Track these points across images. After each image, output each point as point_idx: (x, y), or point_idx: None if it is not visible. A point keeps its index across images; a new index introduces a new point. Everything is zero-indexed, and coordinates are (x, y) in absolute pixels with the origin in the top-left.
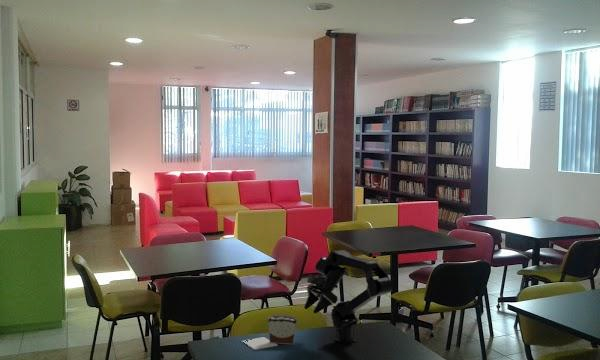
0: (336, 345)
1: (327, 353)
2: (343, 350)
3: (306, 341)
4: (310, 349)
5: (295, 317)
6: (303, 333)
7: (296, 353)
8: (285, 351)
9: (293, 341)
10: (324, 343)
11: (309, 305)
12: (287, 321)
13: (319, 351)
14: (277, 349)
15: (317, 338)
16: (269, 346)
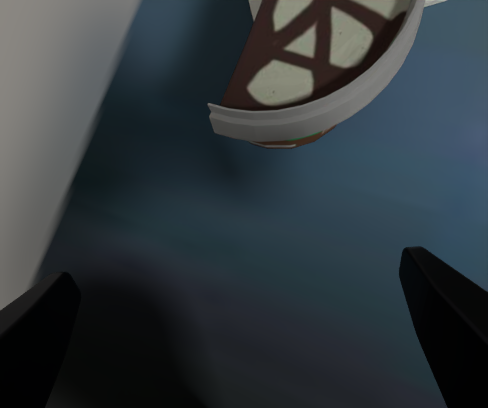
0: (151, 389)
1: None
2: (59, 387)
3: (288, 239)
4: (139, 214)
5: (283, 110)
6: (481, 279)
7: (106, 125)
8: (155, 78)
9: (247, 140)
10: (212, 334)
11: (432, 352)
12: (251, 32)
13: (92, 250)
14: (201, 44)
15: (328, 331)
16: (250, 6)
